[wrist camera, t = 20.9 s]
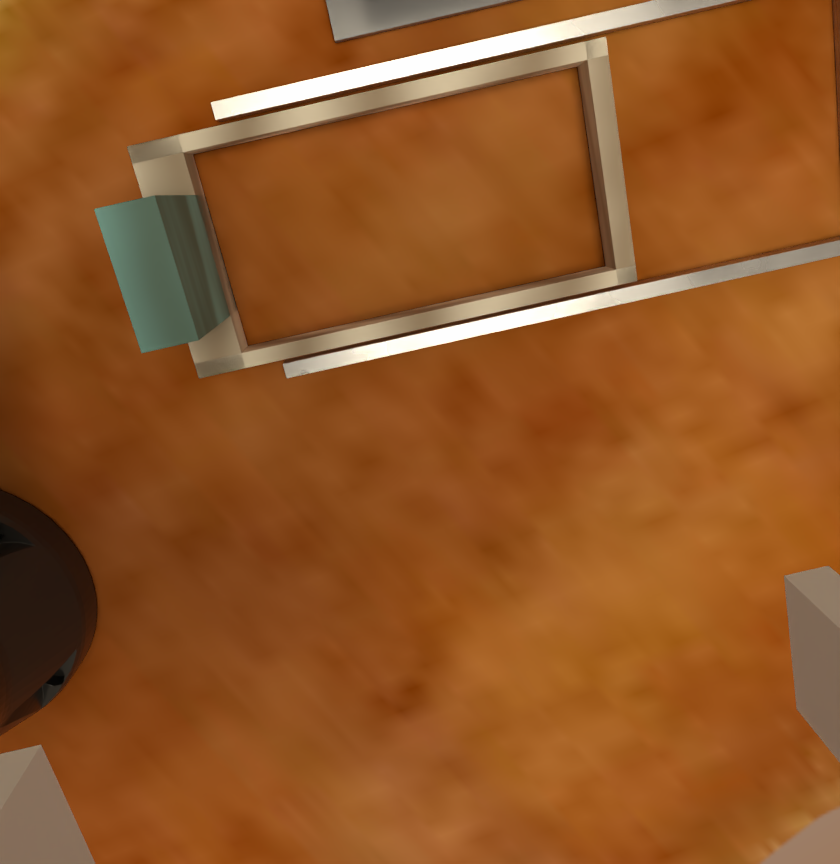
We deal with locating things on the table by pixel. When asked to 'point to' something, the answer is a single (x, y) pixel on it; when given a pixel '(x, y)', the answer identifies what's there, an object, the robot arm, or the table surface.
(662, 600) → the table surface
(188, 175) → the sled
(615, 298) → the lanes
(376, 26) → the coaster
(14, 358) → the table surface
